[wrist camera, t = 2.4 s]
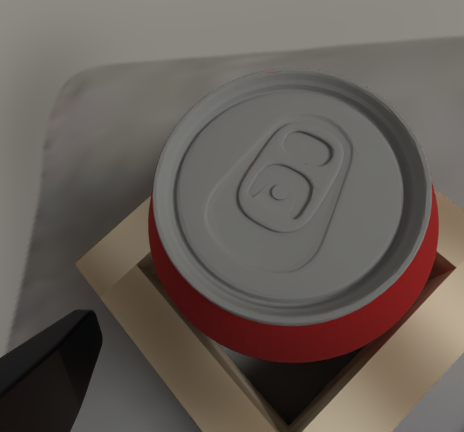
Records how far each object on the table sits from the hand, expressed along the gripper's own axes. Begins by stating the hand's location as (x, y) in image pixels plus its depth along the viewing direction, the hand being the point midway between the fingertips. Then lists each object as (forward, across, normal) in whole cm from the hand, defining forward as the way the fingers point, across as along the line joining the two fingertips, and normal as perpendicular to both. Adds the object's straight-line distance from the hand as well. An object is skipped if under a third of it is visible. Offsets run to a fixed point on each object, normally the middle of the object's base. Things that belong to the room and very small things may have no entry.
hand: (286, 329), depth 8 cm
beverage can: (+9, 0, +5) cm, 10 cm away
